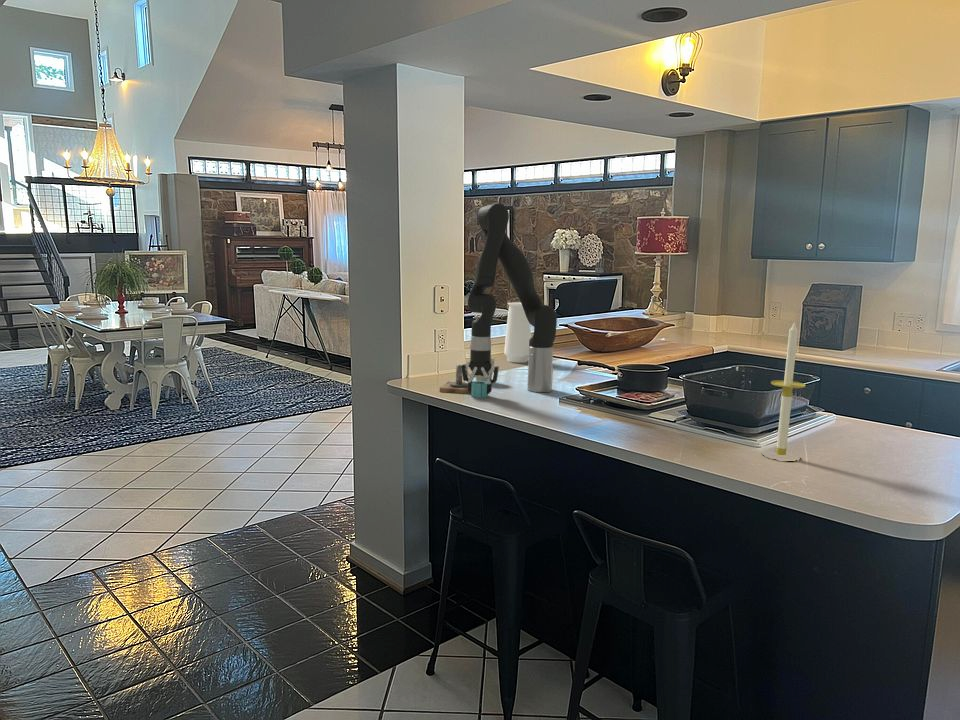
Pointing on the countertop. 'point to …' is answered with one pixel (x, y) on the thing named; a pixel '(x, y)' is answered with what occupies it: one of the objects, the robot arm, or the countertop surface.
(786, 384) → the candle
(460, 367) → the post block
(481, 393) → the collar
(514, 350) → the vase
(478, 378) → the mug
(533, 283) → the robot arm
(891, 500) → the countertop surface
